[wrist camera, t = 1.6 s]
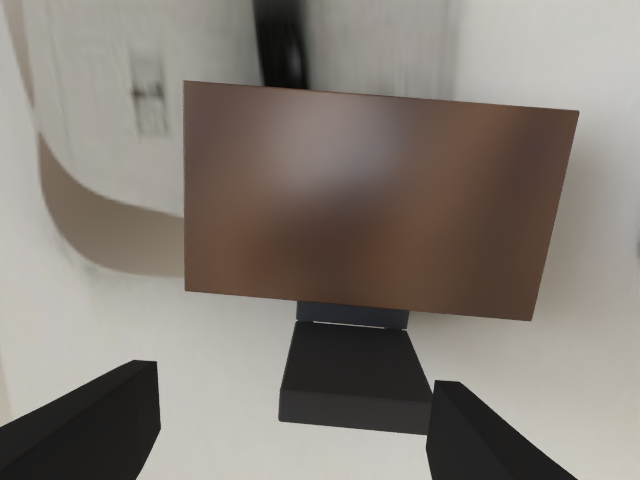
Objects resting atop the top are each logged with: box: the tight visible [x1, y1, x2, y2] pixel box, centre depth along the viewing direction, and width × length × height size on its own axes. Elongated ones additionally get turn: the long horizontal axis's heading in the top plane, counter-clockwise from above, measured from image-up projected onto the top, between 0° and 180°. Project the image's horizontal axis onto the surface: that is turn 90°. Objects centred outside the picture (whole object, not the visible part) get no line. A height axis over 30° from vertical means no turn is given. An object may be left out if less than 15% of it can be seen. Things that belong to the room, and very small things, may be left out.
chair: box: [278, 301, 433, 435], centre depth 15 cm, size 5×6×8 cm
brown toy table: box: [183, 81, 579, 321], centre depth 16 cm, size 14×8×4 cm, turn 86°
